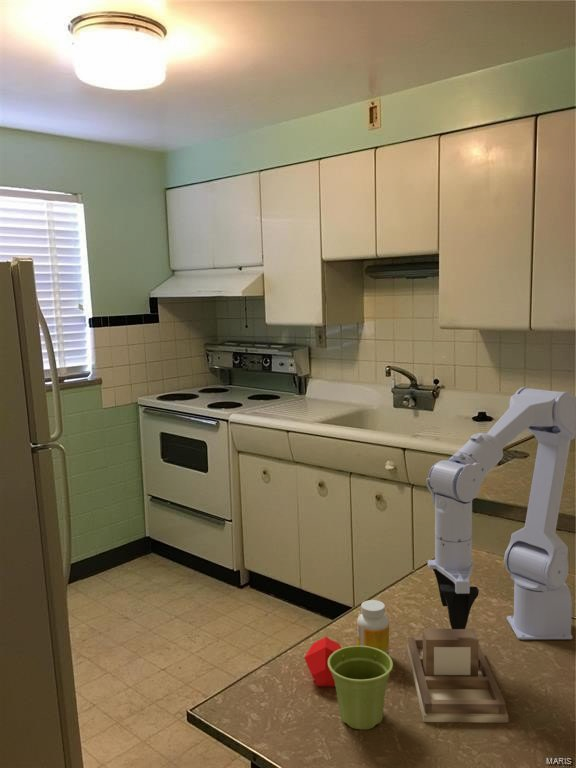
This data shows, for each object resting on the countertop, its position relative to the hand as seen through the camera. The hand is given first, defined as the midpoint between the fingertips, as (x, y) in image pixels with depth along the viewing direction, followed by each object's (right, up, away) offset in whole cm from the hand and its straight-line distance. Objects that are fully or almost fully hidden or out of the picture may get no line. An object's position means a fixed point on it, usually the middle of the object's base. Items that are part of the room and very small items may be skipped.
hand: (453, 616), depth 107 cm
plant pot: (-16, -11, -10) cm, 22 cm away
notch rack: (-1, -10, -2) cm, 10 cm away
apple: (-21, -10, 0) cm, 23 cm away
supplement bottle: (-12, -9, +5) cm, 16 cm away
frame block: (-1, -9, -2) cm, 9 cm away
